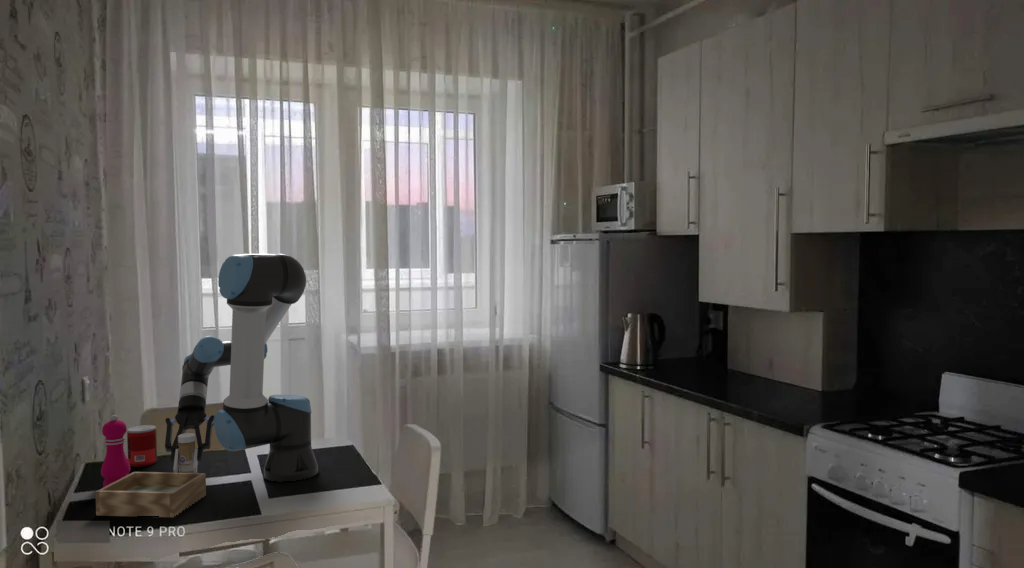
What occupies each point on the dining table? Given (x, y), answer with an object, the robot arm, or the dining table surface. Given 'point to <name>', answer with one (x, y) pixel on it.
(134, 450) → the canned food
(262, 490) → the dining table surface
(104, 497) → the bore box
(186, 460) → the sprinkles bottle
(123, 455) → the pepper mill
